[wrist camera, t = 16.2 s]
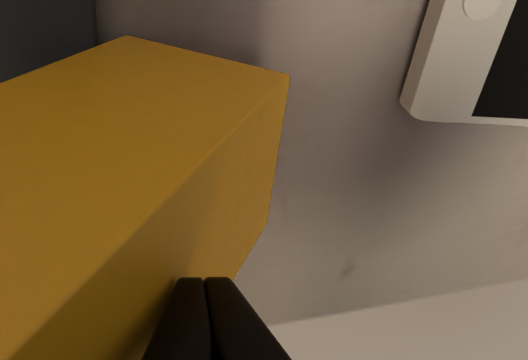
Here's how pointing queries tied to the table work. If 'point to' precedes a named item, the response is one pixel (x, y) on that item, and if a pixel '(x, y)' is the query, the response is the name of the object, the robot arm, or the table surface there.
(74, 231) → the block
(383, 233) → the table surface
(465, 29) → the smartphone
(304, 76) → the table surface
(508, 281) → the table surface
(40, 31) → the mat
